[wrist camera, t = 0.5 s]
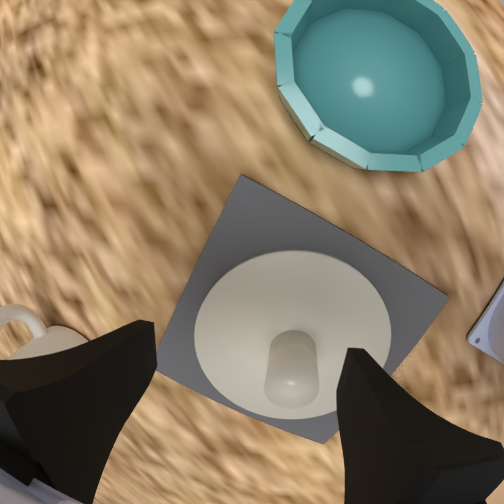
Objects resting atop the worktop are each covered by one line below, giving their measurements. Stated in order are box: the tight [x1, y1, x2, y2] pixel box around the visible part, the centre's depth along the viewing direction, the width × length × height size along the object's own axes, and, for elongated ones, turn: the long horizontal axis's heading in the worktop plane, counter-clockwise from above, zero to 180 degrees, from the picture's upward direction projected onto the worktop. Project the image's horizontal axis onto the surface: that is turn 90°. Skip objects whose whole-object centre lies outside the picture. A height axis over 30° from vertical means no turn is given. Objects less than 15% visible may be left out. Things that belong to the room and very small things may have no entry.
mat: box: [156, 175, 450, 444], centre depth 21 cm, size 16×16×1 cm
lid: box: [194, 248, 391, 419], centre depth 19 cm, size 13×13×5 cm
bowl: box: [274, 0, 482, 172], centre depth 14 cm, size 11×11×4 cm
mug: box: [0, 304, 88, 360], centre depth 20 cm, size 12×8×10 cm
